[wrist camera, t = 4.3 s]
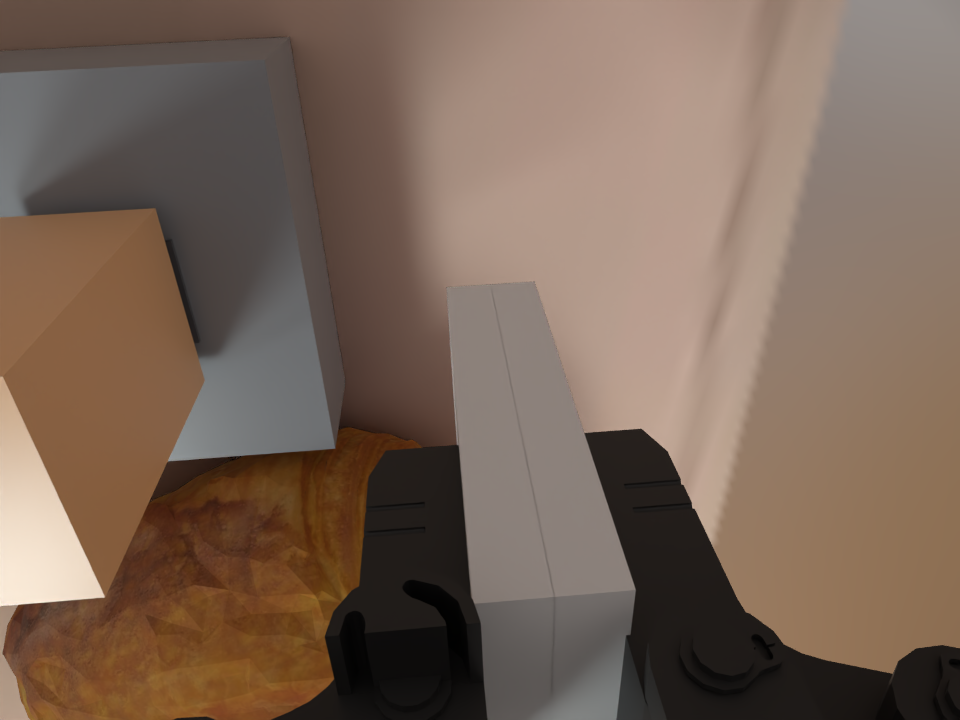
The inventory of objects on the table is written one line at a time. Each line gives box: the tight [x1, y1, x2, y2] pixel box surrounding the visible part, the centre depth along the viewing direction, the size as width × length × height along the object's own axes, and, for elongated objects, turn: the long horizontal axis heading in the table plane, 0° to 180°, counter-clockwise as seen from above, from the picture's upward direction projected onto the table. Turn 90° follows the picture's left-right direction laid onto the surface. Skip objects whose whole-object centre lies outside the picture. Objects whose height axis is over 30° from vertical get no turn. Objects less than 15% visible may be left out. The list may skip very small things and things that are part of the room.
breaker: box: [0, 208, 205, 606], centre depth 12 cm, size 3×4×6 cm
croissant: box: [3, 427, 422, 720], centre depth 22 cm, size 14×16×8 cm
